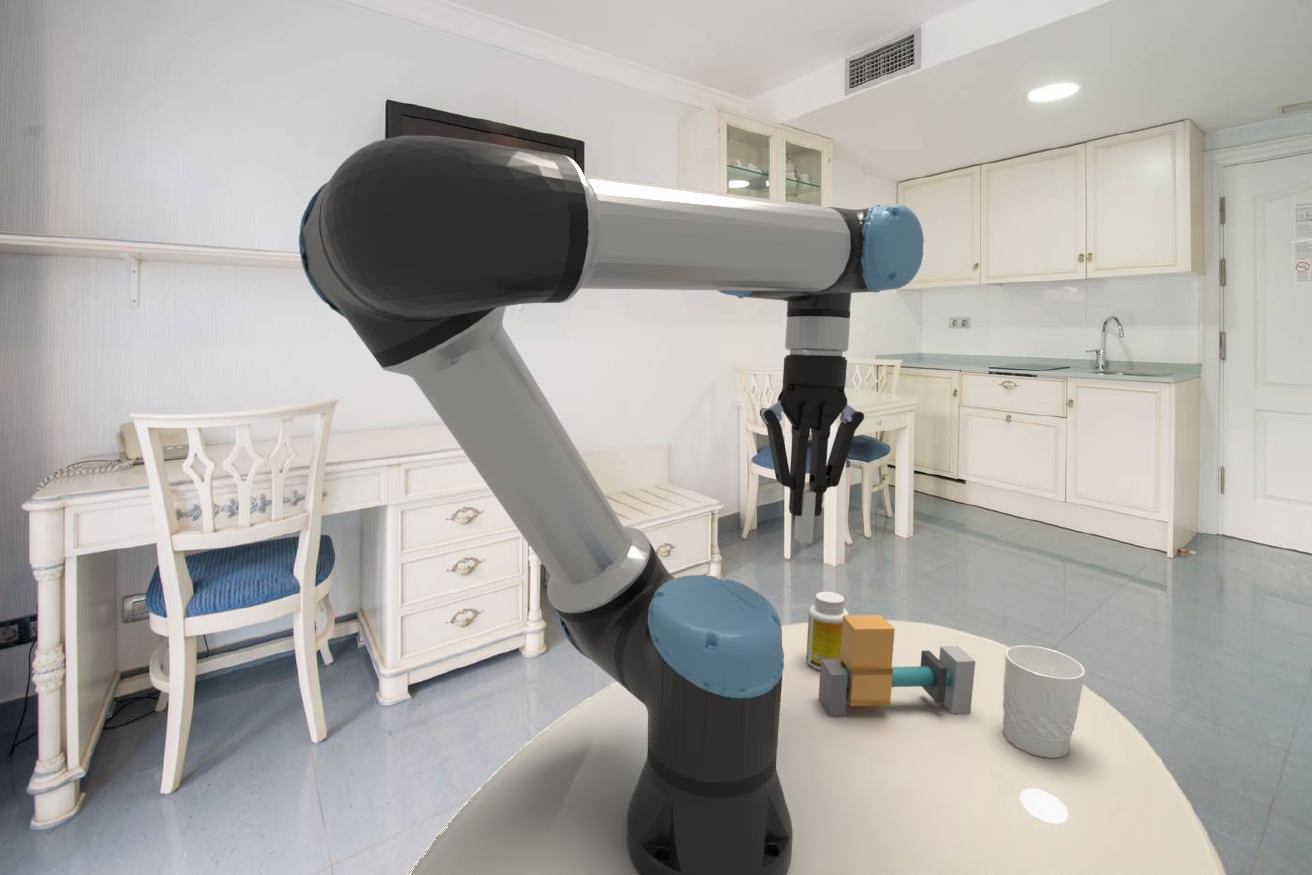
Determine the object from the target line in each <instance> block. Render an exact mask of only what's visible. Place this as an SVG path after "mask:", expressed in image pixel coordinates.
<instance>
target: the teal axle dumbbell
mask: <svg viewBox="0 0 1312 875" xmlns="http://www.w3.org/2000/svg"><path fill="white" fill-rule="evenodd" d="M939 647H940V648H939V656H938V657H939V658H938V657H937V656H936V655H935V654H934V653H932V652H931V651H930V650H921V658H920V666H919V665H918V666H915V665H914V666H892V668H893V676H892V688H902V687H903V688H905V687H906V688H907V687H908V688H909V687H910V688H911V687H913V688H914V687H916V688H917V687H921V688H922V689H923V690H924V691H925V692H926V693H927V694H928V696H930V698H932V700H933V701H934V702H935V703H936V704H942V705H943V706H944V707H945V708H946V709H947V710H948V712H949V713H951V715H956V714H957V715H958V714H960V715H962V714H963V715H966V714H971V710H972V701H973V700H972V699H973V690H974V678H975V671H976V670H975V669H976V661H975V660H974V659H973V658H972V657H971V656H970V655H969V654H968V653H967V652H965V650H963V649H962V648H961V647H960V646H959V645H955V646H954V645H952V646H949V645H947V646H945V645H944V646H943V645H942V646H939ZM819 672H820V673H819V686H818V701H819V702H820V704H821V706H822V707H823V708H824V710H825V712H826V713H827V715H828V718H829V717H846V715H845V714H846V703H847V702H846V701H847V700H846V691H847V688H849V686H850V671H849V670H848V668H842V666H841V665H840V663H839V662H838V661H837V659H821V669H820V670H819Z"/></svg>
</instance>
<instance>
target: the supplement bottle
mask: <svg viewBox="0 0 1312 875" xmlns="http://www.w3.org/2000/svg"><path fill="white" fill-rule="evenodd" d="M808 610H809V611H808V619H807V620H808V621H807V637H806V638H807V639H806V655H805V657H806V662H807V664H808V665H809V666H810V667H812V668H813V669H816V670H818V671H820V669H821V659H837V661H838V662H839V651H841V637H842V623H843V615H850V614H849V612H848V610H847V609H846V608H845V597H844V596H843V595H841V594H839V593H838V592H832V591H821V592H817V593H816V594H815V601H814V604H813V605H812V606H811V607H809V609H808Z"/></svg>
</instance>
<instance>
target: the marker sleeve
mask: <svg viewBox="0 0 1312 875" xmlns="http://www.w3.org/2000/svg"><path fill="white" fill-rule="evenodd" d="M895 632H896V631H895V628H894V626H892V624H891V623H889V621H887V620H886V618H884V616H882V614H865V615H864V614H863V615H862V614H859V615H858V614H857V615H856V614H853V615H852V614H851V615H850V614H849V615H843V623H842V637H841V651H839V663H840V665H841V666H842V668H848V670H849V671H850V686H849V688H847V691H846V701H847V702H848V704H849V705H850V706H851V707H856V706H857V707H861V706H862V707H865V706H866V707H867V706H890V705H891V697H892V688H893V687H892V676H893V668H892V667H893V653H894V642H895Z"/></svg>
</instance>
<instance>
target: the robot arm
mask: <svg viewBox="0 0 1312 875" xmlns="http://www.w3.org/2000/svg"><path fill="white" fill-rule="evenodd" d="M299 226H300V227H299V235H298V244H299V245H298V246H299V254H300V258H301V265H302V268H303V272H304V273H305V276H306V278H307V279H308V283H309V284H310V286H311V287H312V289H313V290H314V292H315V293H316V294H317V296H318V297H319V298H320V299H321V300H322V301H323V302H324V303H325V304H327V305H328V306H329V308H330V309H331V310H333V311H334V312H336V313H337V314H339V315H340V316H341V317H344V318H345V319H346V320H347V321H348V323H349V325H350V326H351V327H352V329H353V330H354V331H355V332H356V334H357V335H358V337H359V338H360V340H361V341H362V342H363V344H364V345H365V347H366V348H367V349H368V351H369V352H370V353H371V355H372V356H373V357H374V359H375V360H376V362H377V363H378V364H379V366H380V367H381V368H382V370H383V371H387V372H391V373H396V374H400V375H405V376H409V377H410V378H412V380H414V382H415V383H416V385H417V386H418V387H419V389H420V391H421V392H422V393H423V395H424V396H425V398H426V399H427V401H428V402H429V403H430V405H431V407H432V408H433V410H434V411H435V412H436V414H437V415H438V416H439V417H440V419H441V421H442V422H443V423H444V425H445V426H446V428H447V429H448V431H449V432H450V433H451V435H452V436H453V438H454V439H455V441H456V443H458V445H459V447H460V448H461V449H462V451H463V452H464V454H465V455H466V456H467V458H468V459H469V461H470V462H471V463H472V465H473V467H474V468H475V469H476V471H477V472H478V474H479V475H480V476H481V478H482V479H483V480H484V483H486V485H487V487H488V488H489V489H490V491H491V492H492V493H493V495H494V497H495V498H496V500H497V501H498V502H499V504H500V505H501V507H503V509H504V511H505V512H506V514H507V515H508V516H509V518H510V520H511V521H512V522H513V524H514V525H515V527H516V528H517V530H518V531H519V532H520V534H521V535H522V537H523V538H524V540H525V541H526V543H527V544H528V545H529V547H530V548H531V550H532V551H533V552H534V554H535V555H536V556H537V559H538V560H539V561H540V562H541V564H542V565H543V566H544V568H545V570H546V571H547V573H548V574H549V575H550V576H549V578H548V581H547V586H546V595H547V599H548V601H549V602H550V604H551V606H552V607H553V608H554V609H555V615H556V618H557V621H558V624H559V627H560V628H561V631H562V632H563V634H564V635H565V637H566V639H567V640H568V641H569V644H571V645H572V646H573V647H574V649H575V650H576V651H577V652H579V653H580V654H581V655H582V656H584V657H585V658H587V659H588V660H591V662H593V663H594V664H595V665H596V666H598V667H600V669H602V670H603V671H604V672H605V673H606V674H607V675H609V676H610V677H611V679H612V678H613V679H614V680H615V682H617V683H618V684H620V686H622V687H623V688H625V689H626V690H627V691H628V692H629V693H630V694H632V695H633V696H634V697H635V698H636V699H637V700H639V702H641V703H642V704H643V705H644V706H645V708H646V710H647V751H646V753H647V754H646V758H645V762H644V765H643V768H642V770H641V773H640V775H639V778H638V781H637V784H636V786H635V788H634V791H633V794H632V796H631V799H630V802H629V805H628V808H627V809H628V810H627V813H626V814H627V815H626V847H627V852H628V855H629V858H630V860H631V862H632V864H633V866H634V867H635V870H636V871H637V872H638V873H639V875H787V873H788V870H789V869H790V865H791V861H792V852H793V851H792V850H793V823H792V819H791V816H790V811H789V808H788V805H787V802H786V797H785V794H784V791H783V788H782V783H781V780H780V777H779V774H778V771H777V755H778V745H779V744H778V743H779V742H778V741H779V727H780V713H781V700H782V699H781V698H782V687H783V686H782V685H783V672H784V667H785V663H784V662H785V661H784V659H785V653H784V649H783V628H782V623H781V619H780V617H779V614H778V612H777V611H776V609H775V607H774V606H773V604H772V603H770V601H769V600H768V599H767V598H766V597H765V596H764V595H762V594H761V593H759V592H758V591H756V590H755V589H754V588H751V587H749V586H747V585H746V584H743V583H740V582H738V581H735V580H732V579H729V578H726V579H723V580H721V579H719V578H717V576H712V575H703V574H692V575H691V574H690V575H683V576H678V577H674V576H673V575H672V574H671V573H670V572H669V570H667V569H666V567H665V565H664V564H663V562H662V560H661V559H660V557H659V554H658V553H657V552H656V550H655V549H654V547H653V545H652V544H651V542H650V540H649V538H648V537H647V535H646V534H645V533H644V532H643V531H642V530H640V529H639V528H635V527H632V526H623V524H622V522H621V520H620V519H619V517H618V516H617V514H616V512H615V510H614V509H613V507H612V505H611V504H610V503H609V500H608V499H607V497H606V496H605V494H604V492H603V490H602V489H601V487H600V486H599V484H598V482H597V481H596V479H595V477H594V475H593V474H592V472H591V470H590V469H589V467H588V465H587V464H586V463H585V461H584V459H583V457H582V456H581V454H580V452H579V451H578V449H577V448H576V445H575V444H574V442H573V441H572V440H571V437H570V436H569V434H568V433H567V431H566V430H565V427H564V426H563V424H562V422H561V421H560V419H559V418H558V416H557V414H556V412H555V411H554V409H553V407H552V406H551V404H550V402H549V401H548V399H547V398H546V396H545V394H544V392H543V391H542V389H541V387H540V386H539V384H538V382H537V381H536V380H535V378H534V376H533V374H532V373H531V371H530V369H529V367H528V366H527V364H526V363H525V361H524V359H523V357H522V356H521V354H520V352H519V351H518V349H517V348H516V346H515V344H514V343H513V341H512V340H511V338H510V336H509V335H508V333H507V331H506V329H505V328H504V325H503V320H504V316H505V312H506V309H507V308H506V307H509V306H510V307H511V306H516V305H523V304H525V305H527V304H560V303H565V302H568V301H569V300H571V299H572V298H573V297H574V296H576V294H577V293H578V291H579V290H580V289H581V290H582V289H588V290H589V289H591V290H593V289H595V290H597V289H599V290H607V289H609V290H668V291H669V290H671V291H673V290H674V291H675V290H676V291H677V290H679V291H680V290H681V291H717V292H719V293H721V294H724V295H727V296H728V295H729V296H732V297H733V296H735V297H737V298H738V299H744V298H751V299H760V300H761V299H762V300H763V299H764V300H775V301H776V300H777V301H783V302H786V326H785V327H786V328H785V341H784V342H785V343H784V344H785V345H784V348H785V349H786V350H787V351H789V354H786V355H785V357H784V358H783V371H782V373H783V374H782V387H781V388H782V389H781V392H780V394H778V397H777V402H775V403H772V405H770V406H769V407H767V408H766V407H763V408H761V409H760V410H759V416H760V417H761V419H762V422H763V423H764V425H765V426H766V429H767V430H766V431H767V435H768V437H767V438H768V441H769V448H770V452H771V457H772V462H773V463H772V464H773V470H774V474H775V480H776V482H778V483H779V484H781V486H783V487H786V488H789V499H788V500H789V504H788V510H789V513H790V514H791V515H792V516H793V517H795V519H794V533H793V537H794V538H795V540H796V541H798V542H799V543H800V544H813V542H814V541H813V540H814V526H815V517H818V516H819V517H820V516H821V513H822V510H823V497H824V496H823V495H824V494H825V493H826V492H827V490H828V489H829V488H831V487H833V488H835V487H838V486H839V484H840V480H841V478H842V475H843V471H844V468H845V464H846V462H847V458H848V455H849V451H850V448H851V445H852V443H853V439H854V436H855V432H856V430H857V429H858V428H859V426H860V425H861V424H862V423H863V420H864V419H865V414H864V412H862V411H858V410H855V409H854V408H852V407H851V406H850V405H849V404H848V398H847V396H846V392H845V387H846V379H847V366H848V359H846V356H843V354H844V352H845V353H846V352H847V351H848V350H849V343H850V342H849V340H850V327H851V326H850V324H851V302H852V294H855V293H856V294H857V293H880V292H881V291H890V290H898V289H901V288H903V287H905V286H907V285H908V284H910V283H911V282H912V280H913V279H914V278H915V277H916V275H917V274H918V272H919V269H920V268H921V266H922V262H923V258H924V243H925V241H924V240H925V239H924V237H925V236H924V232H923V227H922V225H921V223H920V220H919V218H918V216H917V215H916V213H915V212H914V211H913V210H912V209H911V208H909V207H908V206H906V205H903V204H899V203H895V204H893V203H892V204H887V205H886V204H885V205H881V204H874V205H872V206H870V207H867V208H860V209H850V208H843V207H842V208H841V207H835V206H834V207H832V206H824V205H823V206H822V205H817V204H816V205H815V204H808V203H802V202H794V201H793V202H792V201H786V200H780V199H770V198H764V197H763V198H762V197H756V196H748V195H747V196H746V195H740V194H732V193H726V192H718V191H709V190H704V189H703V190H701V189H696V188H689V187H682V186H674V185H666V184H658V183H651V182H644V181H643V182H642V181H635V180H628V179H621V178H620V179H619V178H613V177H607V176H598V175H592V174H591V175H590V174H584V173H583V171H582V169H581V168H580V166H579V165H578V164H577V162H576V161H575V160H574V159H573V158H571V157H570V156H567V155H564V154H560V153H554V152H546V151H540V150H533V149H528V148H520V147H514V146H508V145H501V144H495V143H489V142H483V141H476V140H467V139H462V138H461V139H460V138H454V137H444V136H436V135H406V134H405V135H400V136H394V137H389V138H385V139H380V140H376V141H375V140H374V141H373V142H371V143H369V144H367V145H365V146H363V147H361V148H359V149H357V150H356V151H355V152H354V153H352V154H351V155H350V156H349V157H347V158H346V159H345V160H344V161H343V162H342V163H341V165H339V166H338V168H337V169H336V170H335V172H334V173H333V175H332V176H331V178H330V179H329V180H328V181H327V182H326V183H324V184H323V185H321V186H320V187H319V188H318V190H317V191H316V192H315V194H314V195H313V196H311V198H310V200H309V202H308V204H307V206H306V208H305V210H304V212H303V215H302V217H301V221H300V225H299ZM782 413H783V414H784V415H785V416H786V418H787V420H788V421H789V423H790V424H791V436H792V437H791V438H792V439H791V449H790V450H791V451H790V464H789V463H788V462H789V461H788V456H787V450H786V444H785V439H784V433H783V428H782V425H781V421H782V419H783V416H782ZM838 417H839V420H840V423H839V425H838V428H837V431H836V433H835V437H834V440H833V444H832V446H831V448H830V453H829V455H828V450H829V449H828V445H829V438H830V436H831V427H832V425H833V424H834V422H836V420H837V419H838ZM810 435H811V446H810V447H811V448H810V462H809V477H808V478H809V479H808V485H809V487H805V486H806V476H807V475H806V473H807V460H808V459H807V458H808V457H807V456H808V445H809V444H808V443H809V438H810ZM828 456H829V457H828Z"/></svg>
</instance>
